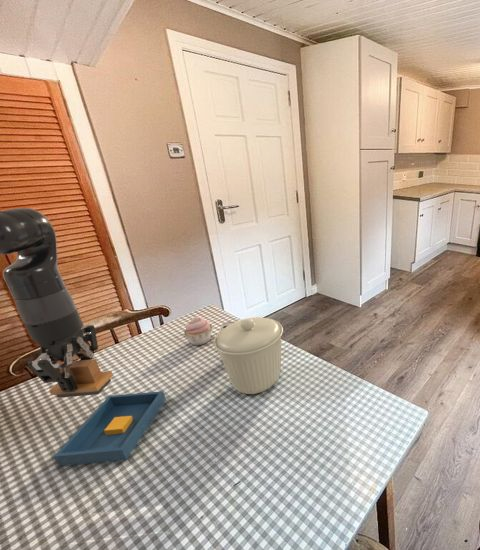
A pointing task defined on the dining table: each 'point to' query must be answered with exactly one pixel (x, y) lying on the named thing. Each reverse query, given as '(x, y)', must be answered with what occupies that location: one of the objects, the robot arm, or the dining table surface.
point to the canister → (251, 353)
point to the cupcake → (198, 331)
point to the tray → (103, 448)
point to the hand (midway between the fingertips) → (81, 381)
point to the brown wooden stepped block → (85, 379)
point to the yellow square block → (118, 425)
